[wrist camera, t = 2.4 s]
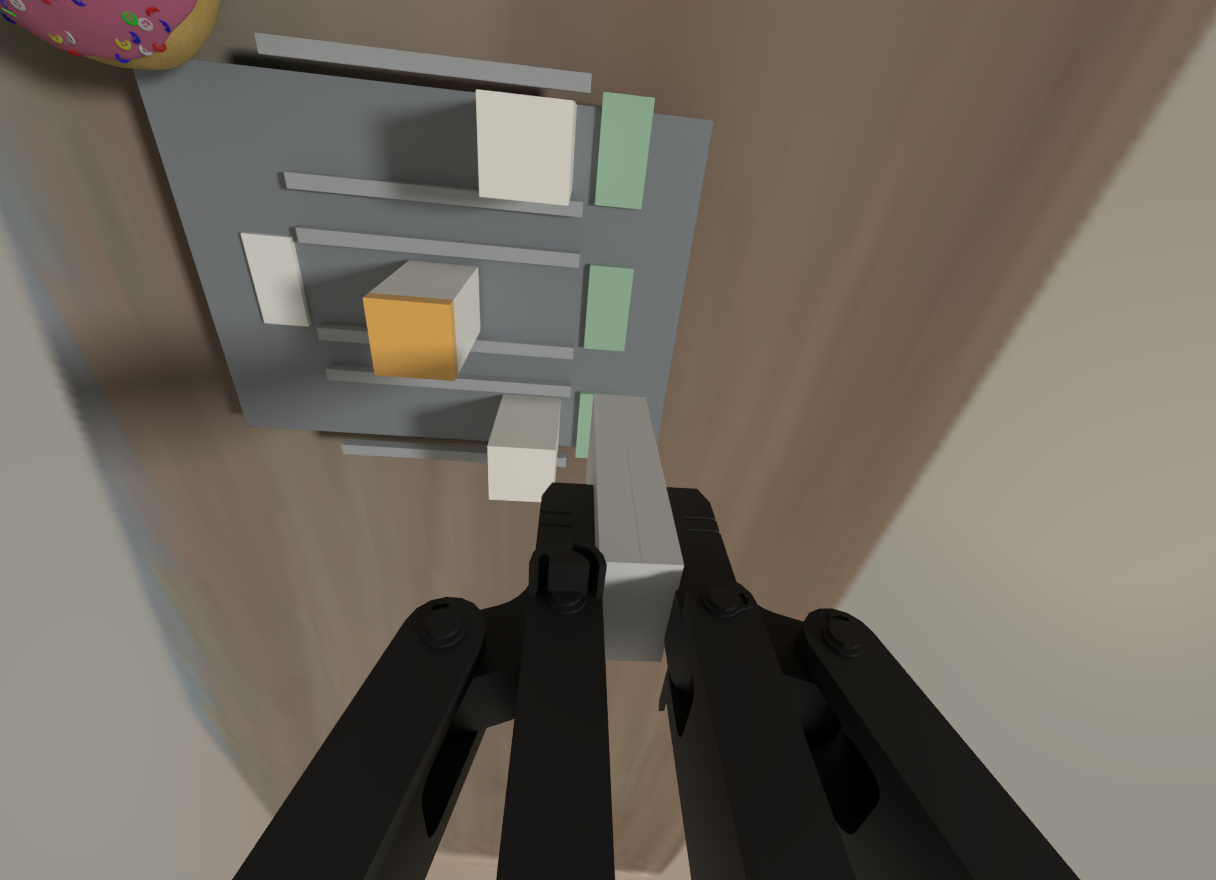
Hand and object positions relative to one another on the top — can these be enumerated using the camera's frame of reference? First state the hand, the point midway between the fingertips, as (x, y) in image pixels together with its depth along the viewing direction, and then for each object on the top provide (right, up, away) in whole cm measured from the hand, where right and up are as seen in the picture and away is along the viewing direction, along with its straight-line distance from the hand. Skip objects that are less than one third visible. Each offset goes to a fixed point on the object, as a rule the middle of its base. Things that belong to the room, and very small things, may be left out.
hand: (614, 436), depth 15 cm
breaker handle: (-8, +7, +9) cm, 13 cm away
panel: (-8, +8, +10) cm, 15 cm away
